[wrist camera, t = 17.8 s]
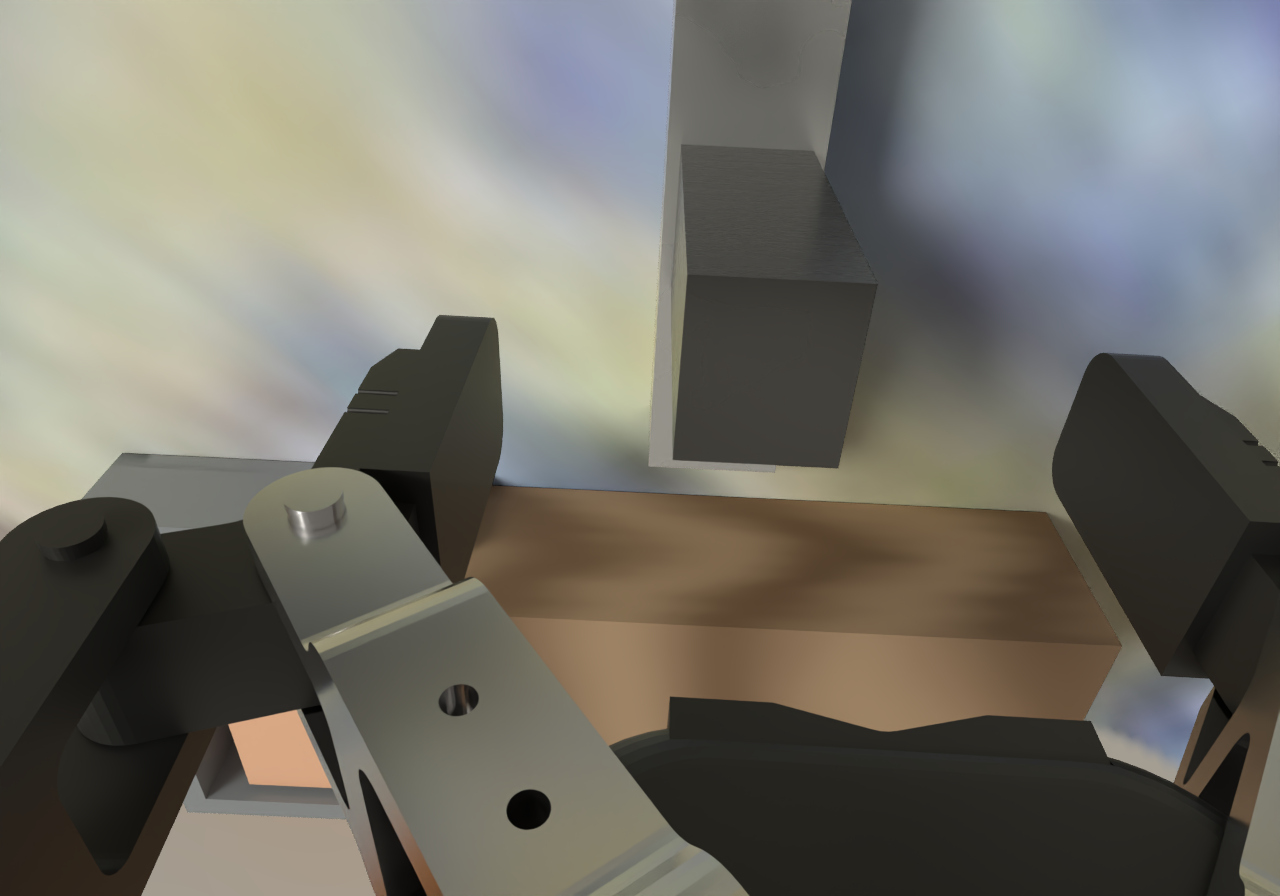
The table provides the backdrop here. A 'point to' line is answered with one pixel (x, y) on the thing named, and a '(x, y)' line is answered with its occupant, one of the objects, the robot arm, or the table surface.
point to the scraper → (754, 244)
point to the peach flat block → (278, 752)
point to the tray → (195, 500)
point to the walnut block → (794, 606)
